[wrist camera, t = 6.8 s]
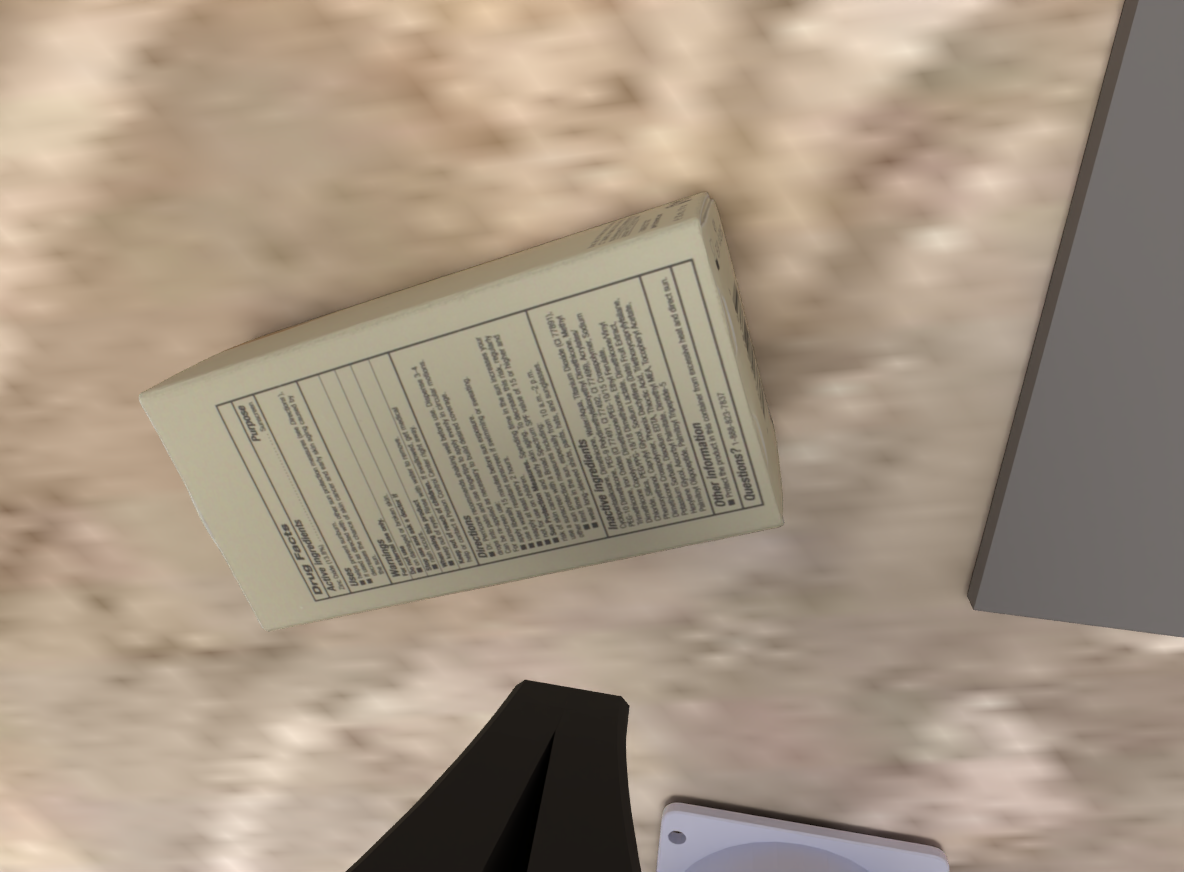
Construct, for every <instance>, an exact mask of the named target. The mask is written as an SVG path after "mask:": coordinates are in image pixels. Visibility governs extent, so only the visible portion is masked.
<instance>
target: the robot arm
mask: <svg viewBox="0 0 1184 872" xmlns="http://www.w3.org/2000/svg"><path fill="white" fill-rule="evenodd" d="M628 715H629V705H628V704H627V702H626V701H625V700H624V699H623V698H622V696H616V695H610V694H604V693H599V692H593V691H587V690H581V689H576V688H570V687H564V686H558V685H552V684H547V683H541V682H535V681H529V680H524V681H523V682H521V683H519V684H518V685H516V686H515V688H514V689H513V691H512V692H511V693H510V695H509V696H508V697H507V699H506V700H505V701H504V703H503V704H502V705H501V706H500V708H499V709H498V710H497V712H496V713H495V714H494V715H493V717H492V718H491V719H490V720H489V722H488V723H487V724H486V725H485V727H484V728H483V729H482V730H481V731H480V733H479V734H478V735H477V736H476V737H475V738H474V740H473V741H472V742H471V743H470V744H469V745H468V747H467V748H466V749H465V750H464V751H463V752H462V754H461V755H460V756H459V757H458V758H457V759H456V760H455V761H454V763H453V764H452V765H451V766H450V767H449V768H448V769H447V770H446V771H445V772H444V773H443V775H442V776H441V777H440V778H439V779H438V780H437V781H436V782H435V783H434V784H433V785H432V787H431V788H430V789H429V790H428V791H427V792H426V793H425V794H424V795H423V796H422V797H421V798H420V800H419V801H418V802H417V803H416V804H415V805H414V806H413V807H412V808H411V809H410V810H409V811H408V812H407V813H406V814H405V815H404V816H403V817H402V818H401V819H400V820H399V821H398V822H397V823H396V824H395V825H394V826H393V827H392V828H391V829H390V830H388V831H387V832H386V833H385V834H384V835H383V836H382V837H381V838H380V839H379V840H378V841H377V842H376V843H375V844H374V845H373V846H372V847H371V848H370V849H369V850H368V851H367V852H366V853H365V854H364V855H363V856H362V857H361V858H360V859H359V860H358V861H357V862H356V863H354V864H353V865H352V866H351V867H350V868H349V869H348V870H347V871H346V872H641V868H640V863H639V857H638V851H637V844H636V838H635V832H634V825H633V819H632V813H631V805H630V797H629V788H628V776H627V762H626V734H627V725H628ZM673 831H679V832H682V833H676V832H673ZM656 872H949V863H948V860H947V857H946V855H945V853H944V852H943V851H942V850H940V849H939V848H936V847H933V846H929V845H923V844H917V843H911V842H906V841H900V840H894V839H888V838H882V837H877V836H871V835H865V834H859V833H853V832H848V831H842V830H836V829H830V828H824V827H819V826H813V825H807V824H801V823H795V822H790V821H784V820H778V819H772V818H767V817H761V816H755V815H749V814H743V813H738V812H732V811H726V810H720V809H714V808H709V807H703V806H697V805H691V804H685V803H671V804H668V805H667V806H666V807H665V808H664V810H663V813H662V821H661V831H660V840H659V850H658V860H657V869H656Z"/></svg>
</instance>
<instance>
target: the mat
mask: <svg viewBox="0 0 1184 872" xmlns="http://www.w3.org/2000/svg"><path fill="white" fill-rule="evenodd" d="M967 596H968V599H969V601H970V603H971V605H972V607H973V610H978V611H985V612H993V613H1001V614H1008V615H1016V616H1024V617H1031V618H1039V619H1047V620H1054V621H1062V622H1069V623H1077V624H1085V625H1092V626H1100V627H1108V628H1115V629H1123V630H1131V631H1138V632H1146V633H1153V634H1161V635H1169V636H1176V637H1184V0H1125V3H1124V7H1123V11H1122V14H1121V18H1120V22H1119V26H1118V30H1117V33H1116V37H1115V41H1114V45H1113V48H1112V52H1111V56H1110V60H1109V64H1108V67H1107V71H1106V75H1105V79H1104V82H1103V86H1102V90H1101V94H1100V97H1099V101H1098V105H1097V109H1096V113H1095V116H1094V120H1093V124H1092V128H1091V131H1090V135H1089V139H1088V143H1087V146H1086V150H1085V154H1084V158H1083V162H1082V165H1081V169H1080V173H1079V177H1078V180H1077V184H1076V188H1075V192H1074V195H1073V199H1072V203H1071V207H1070V211H1069V214H1068V218H1067V222H1066V226H1065V229H1064V233H1063V237H1062V241H1061V245H1060V248H1059V252H1058V256H1057V260H1056V263H1055V267H1054V271H1053V275H1052V278H1051V282H1050V286H1049V290H1048V294H1047V297H1046V301H1045V305H1044V309H1043V312H1042V316H1041V320H1040V324H1039V327H1038V331H1037V335H1036V339H1035V343H1034V346H1033V350H1032V354H1031V358H1030V361H1029V365H1028V369H1027V373H1026V377H1025V380H1024V384H1023V388H1022V392H1021V395H1020V399H1019V403H1018V407H1017V410H1016V414H1015V418H1014V422H1013V426H1012V429H1011V433H1010V437H1009V441H1008V444H1007V448H1006V452H1005V456H1004V459H1003V463H1002V467H1001V471H1000V475H999V478H998V482H997V486H996V490H995V493H994V497H993V501H992V505H991V509H990V512H989V516H988V520H987V524H986V527H985V531H984V535H983V539H982V542H981V546H980V550H979V554H978V558H977V561H976V565H975V569H974V573H973V576H972V580H971V584H970V588H969V591H968V595H967Z"/></svg>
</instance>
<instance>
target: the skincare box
mask: <svg viewBox="0 0 1184 872" xmlns="http://www.w3.org/2000/svg"><path fill="white" fill-rule="evenodd" d="M139 401H140V403H141V405H142V407H143V409H144V411H145V412H146V414H147V416H148V417H149V419H150V421H151V423H152V425H153V427H154V428H155V430H156V432H157V433H158V435H159V437H160V439H161V441H162V443H163V445H164V447H165V449H166V450H167V452H168V454H169V456H170V458H171V460H172V462H173V463H174V465H175V467H176V469H177V471H178V473H179V474H180V476H181V478H182V480H183V482H184V484H185V486H186V488H187V490H188V492H189V494H190V497H191V499H192V502H193V504H194V506H195V508H196V510H197V513H198V515H199V517H200V519H201V521H202V522H203V524H204V526H205V528H206V530H207V531H208V533H209V535H210V536H211V538H212V539H213V541H214V542H215V544H216V545H217V546H218V548H219V550H220V551H221V553H222V555H223V556H224V558H225V560H226V562H227V564H228V565H229V567H230V569H231V571H232V573H233V575H234V577H235V579H236V580H237V582H238V584H239V586H240V588H241V589H242V591H243V593H244V595H245V597H246V599H247V601H248V602H249V604H250V606H251V608H252V610H253V611H254V613H255V615H256V617H257V620H258V622H259V623H260V625H261V627H262V628H263V629H265V630H266V631H274V630H278V629H284V628H288V627H293V626H298V625H303V624H308V623H312V622H317V621H322V620H327V619H332V618H337V617H341V616H346V615H351V614H356V613H361V612H366V611H371V610H376V609H381V608H386V607H391V606H395V605H400V604H405V603H410V602H415V601H420V600H425V599H429V598H434V597H439V596H444V595H449V594H454V593H459V592H464V591H469V590H474V589H479V588H484V587H489V586H494V585H498V584H503V583H508V582H513V581H518V580H523V579H527V578H532V577H537V576H541V575H546V574H551V573H556V572H561V571H566V570H571V569H576V568H581V567H586V566H591V565H596V564H601V563H605V562H610V561H615V560H621V559H626V558H631V557H636V556H641V555H645V554H650V553H655V552H660V551H664V550H669V549H674V548H679V547H683V546H688V545H693V544H699V543H704V542H709V541H715V540H719V539H724V538H729V537H734V536H739V535H744V534H749V533H753V532H758V531H763V530H768V529H773V528H778V527H781V526H783V524H784V520H783V492H782V482H781V474H780V466H779V456H778V448H777V442H776V436H775V430H774V426H773V421H772V418H771V415H770V412H769V409H768V405H767V402H766V398H765V394H764V390H763V387H762V382H761V378H760V374H759V370H758V366H757V362H756V358H755V354H754V350H753V346H752V342H751V338H750V334H749V330H748V326H747V322H746V318H745V313H744V309H743V305H742V301H741V297H740V293H739V289H738V285H737V281H736V277H735V273H734V269H733V265H732V261H731V257H730V254H729V250H728V246H727V242H726V239H725V235H724V231H723V227H722V224H721V220H720V216H719V212H718V209H717V206H716V203H715V200H713V199H710V197H709V194H708V193H707V192H702V193H699V194H696V195H693V196H690V197H687V198H684V199H681V200H678V201H674V202H671V203H668V204H665V205H662V206H659V207H656V208H653V209H650V210H647V211H644V212H641V213H638V214H635V215H631V216H628V217H625V218H622V219H619V220H616V221H613V222H610V223H607V224H604V225H601V226H597V227H594V228H591V229H588V230H585V231H582V232H579V233H576V234H573V235H570V236H567V237H564V238H561V239H558V240H555V241H552V242H549V243H546V244H543V245H540V246H536V247H533V248H530V249H527V250H524V251H521V252H518V253H515V254H512V255H509V256H506V257H503V258H500V259H496V260H493V261H490V262H487V263H484V264H481V265H478V266H475V267H472V268H469V269H466V270H462V271H459V272H456V273H453V274H450V275H447V276H444V277H441V278H438V279H435V280H432V281H428V282H425V283H422V284H419V285H416V286H413V287H410V288H407V289H404V290H401V291H398V292H395V293H391V294H388V295H385V296H382V297H379V298H376V299H373V300H370V301H367V302H364V303H361V304H358V305H355V306H352V307H349V308H346V309H343V310H340V311H337V312H334V313H331V314H328V315H325V316H322V317H319V318H316V319H313V320H310V321H307V322H304V323H301V324H298V325H295V326H292V327H288V328H285V329H282V330H279V331H276V332H273V333H271V334H268V335H265V336H262V337H259V338H256V339H253V340H250V341H247V342H245V343H243V344H240V345H238V346H235V347H233V348H230V349H227V350H225V351H223V352H221V353H219V354H216V355H214V356H212V357H210V358H208V359H206V360H203V361H201V362H199V363H197V364H196V365H194V366H192V367H190V368H188V369H186V370H184V371H182V372H180V373H178V374H176V375H174V376H172V377H170V378H168V379H166V380H164V381H163V382H161V383H159V384H157V385H155V386H153V387H152V388H150V389H148V390H146V391H144V392H142V393H141V394H140V395H139Z"/></svg>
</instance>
